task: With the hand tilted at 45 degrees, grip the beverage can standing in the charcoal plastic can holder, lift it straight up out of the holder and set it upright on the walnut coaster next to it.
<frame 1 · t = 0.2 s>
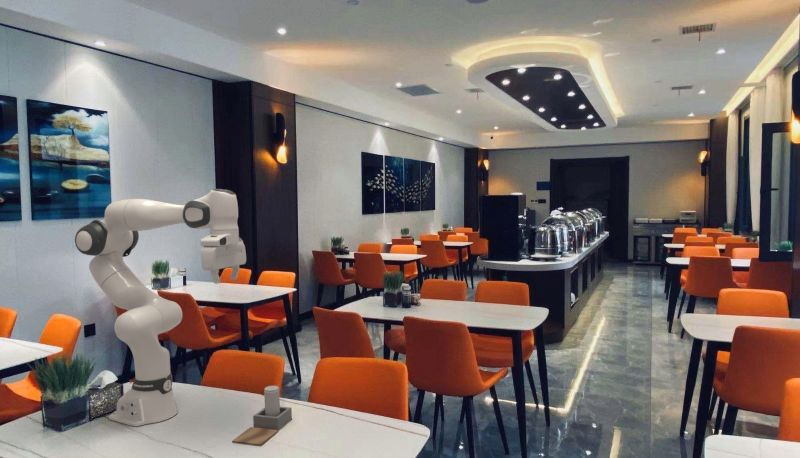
hand: (225, 281, 174), 48 cm above the table, tool pointing down, fingers open, 8 cm apart
can holder: (273, 423, 177), on the table
coaster: (255, 437, 167), on the table
beverage can: (273, 424, 177), resting in can holder
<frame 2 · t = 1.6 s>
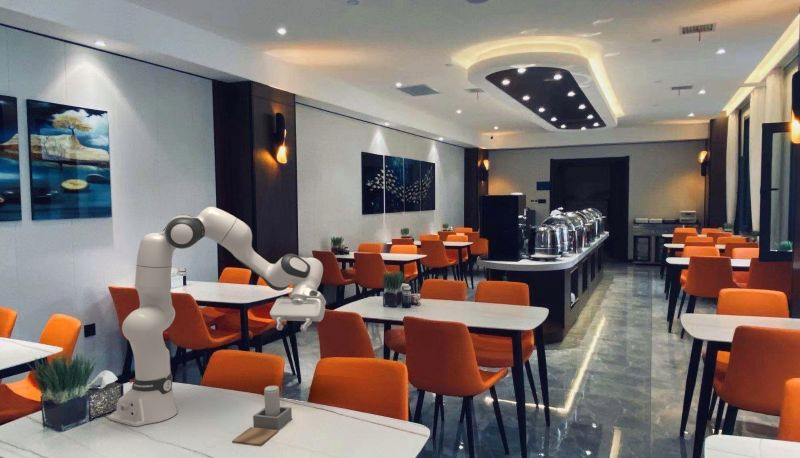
hand: (290, 329, 188), 28 cm above the table, tool tilted 45°, fingers open, 8 cm apart
nothing on the table moved.
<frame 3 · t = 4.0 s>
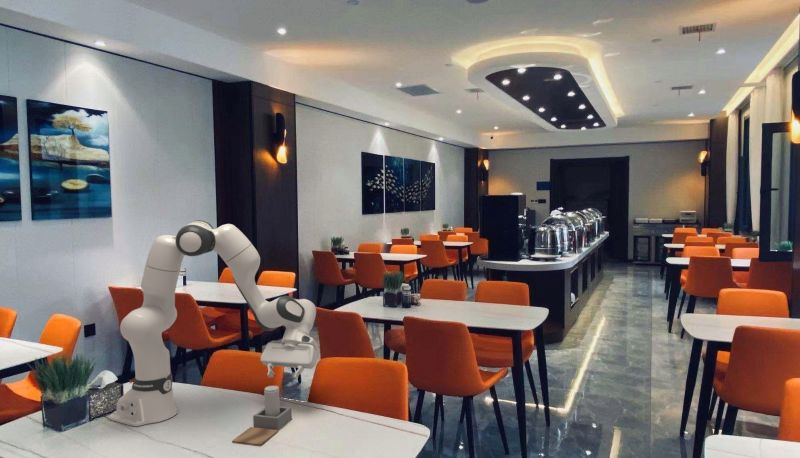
hand: (281, 377, 182), 13 cm above the table, tool tilted 45°, fingers open, 8 cm apart
nothing on the table moved.
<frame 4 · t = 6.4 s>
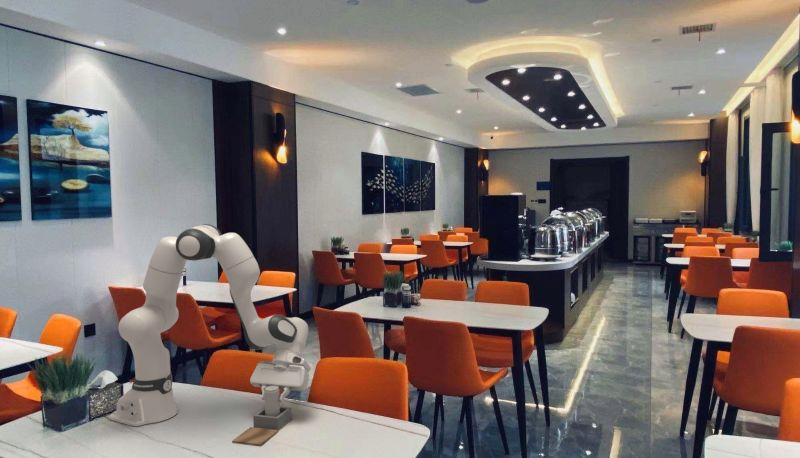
hand: (271, 400, 176), 8 cm above the table, tool tilted 45°, fingers closed on beverage can, 5 cm apart
beverage can: (273, 424, 177), resting in can holder, touching gripper
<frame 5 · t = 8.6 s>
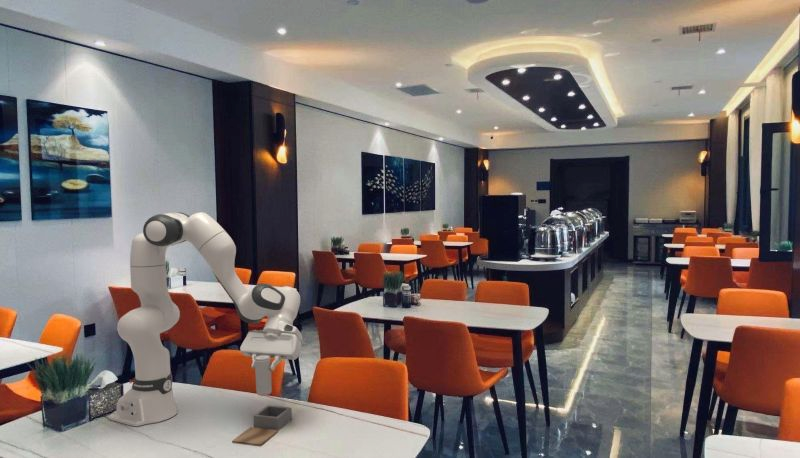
hand: (262, 368, 171), 20 cm above the table, tool tilted 45°, fingers closed on beverage can, 5 cm apart
beverage can: (264, 394, 172), point 12 cm above the table, touching gripper
when the fingers open (10 cm above the table, at t = 11.4 s): beverage can drops 1 cm, resting on coaster.
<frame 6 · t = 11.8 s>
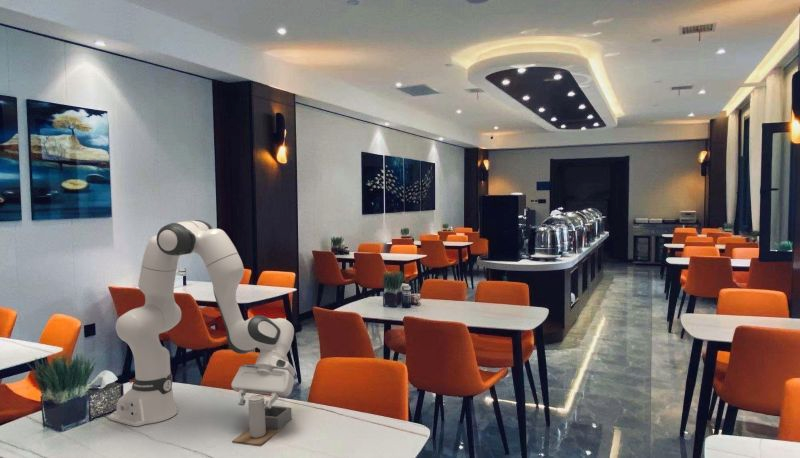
hand: (253, 406, 166), 10 cm above the table, tool tilted 45°, fingers open, 8 cm apart
beverage can: (257, 435, 167), resting on coaster
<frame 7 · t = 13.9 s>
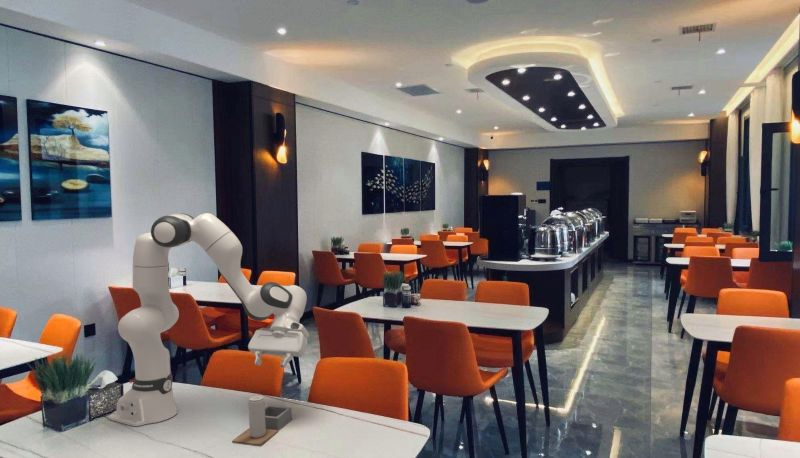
hand: (269, 365, 175), 20 cm above the table, tool tilted 45°, fingers open, 8 cm apart
nothing on the table moved.
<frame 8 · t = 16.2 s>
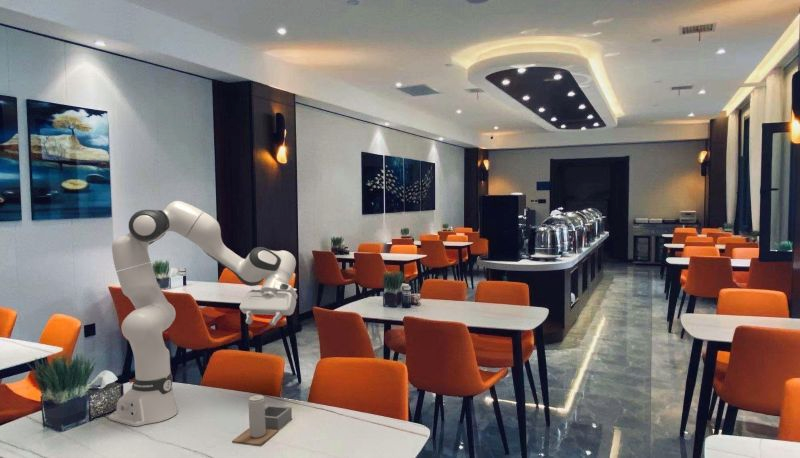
hand: (260, 323, 184), 31 cm above the table, tool tilted 45°, fingers open, 8 cm apart
nothing on the table moved.
at the end: beverage can 0.7 cm off-centre on the coaster, point 0.4 cm above the coaster's base; beverage can tilted 0°; the gripper is holding nothing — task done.
